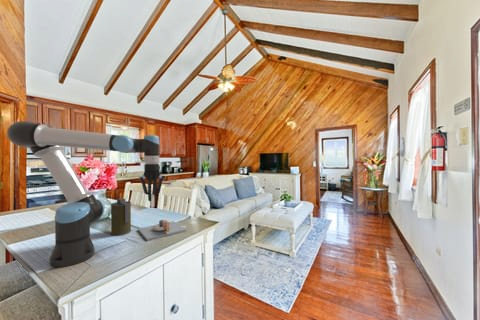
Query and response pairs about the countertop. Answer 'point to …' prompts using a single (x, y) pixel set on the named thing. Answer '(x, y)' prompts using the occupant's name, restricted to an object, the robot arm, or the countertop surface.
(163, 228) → the dial
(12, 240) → the countertop surface
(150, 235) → the panel
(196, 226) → the countertop surface
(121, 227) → the canister
